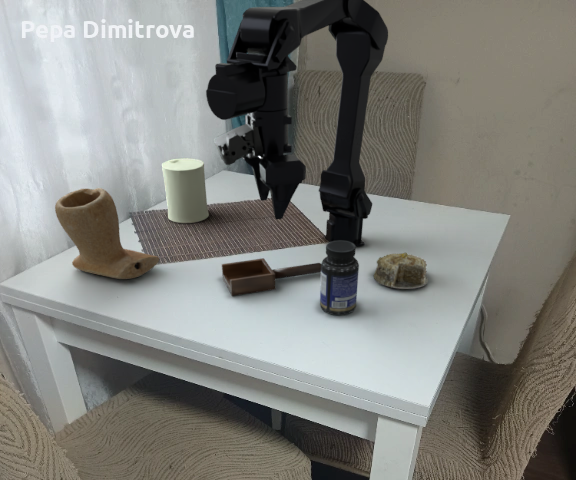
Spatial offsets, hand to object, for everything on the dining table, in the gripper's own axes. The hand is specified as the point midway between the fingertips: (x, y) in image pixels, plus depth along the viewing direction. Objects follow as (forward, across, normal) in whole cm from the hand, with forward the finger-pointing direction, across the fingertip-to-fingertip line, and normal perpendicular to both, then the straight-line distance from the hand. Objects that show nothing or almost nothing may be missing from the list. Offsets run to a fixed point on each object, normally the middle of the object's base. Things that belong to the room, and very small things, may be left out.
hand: (270, 209), depth 95 cm
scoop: (+14, -1, +1) cm, 14 cm away
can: (+14, -38, -9) cm, 41 cm away
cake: (+14, +5, +23) cm, 27 cm away
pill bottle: (+14, +12, +8) cm, 20 cm away
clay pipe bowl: (+14, -13, -28) cm, 34 cm away
